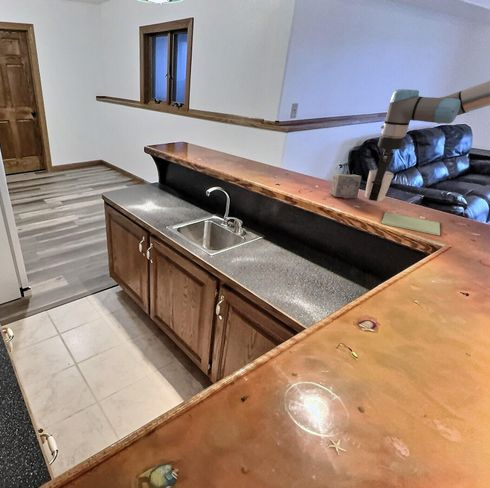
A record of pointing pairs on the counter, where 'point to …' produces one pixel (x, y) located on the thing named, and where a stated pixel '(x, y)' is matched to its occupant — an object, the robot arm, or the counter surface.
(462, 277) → the counter surface
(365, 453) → the counter surface
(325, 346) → the counter surface
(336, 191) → the incense holder
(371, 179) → the white cup
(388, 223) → the napkin
